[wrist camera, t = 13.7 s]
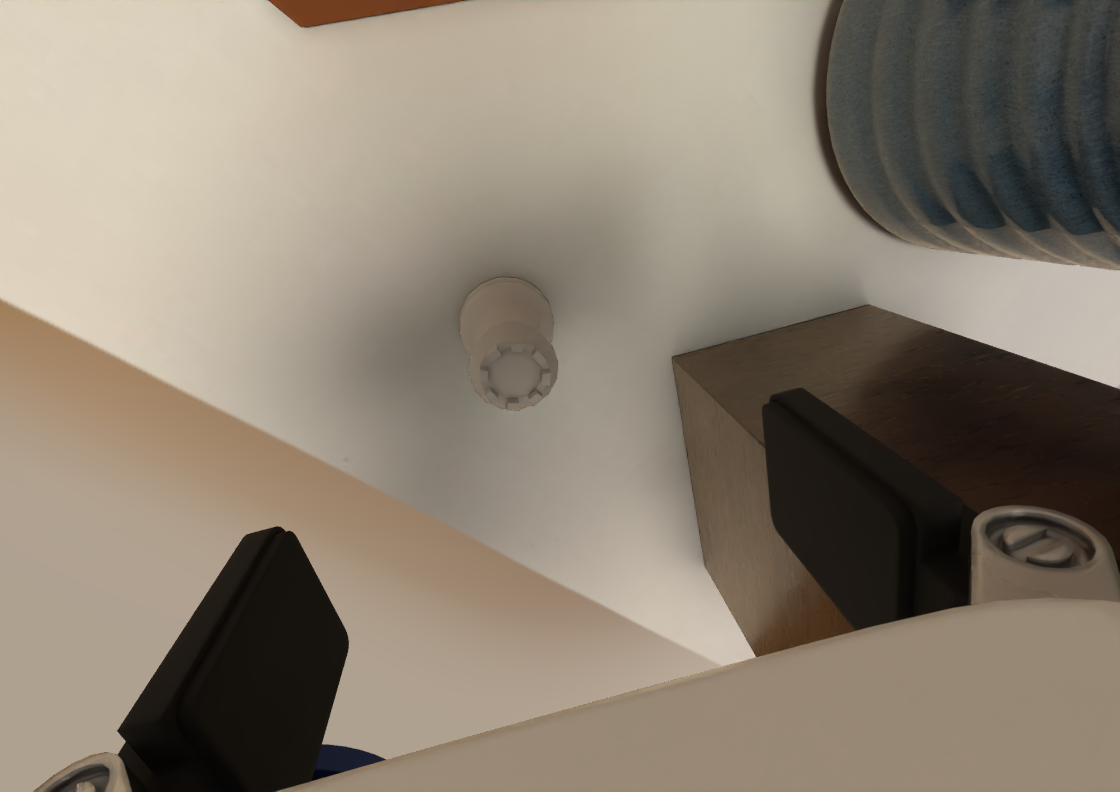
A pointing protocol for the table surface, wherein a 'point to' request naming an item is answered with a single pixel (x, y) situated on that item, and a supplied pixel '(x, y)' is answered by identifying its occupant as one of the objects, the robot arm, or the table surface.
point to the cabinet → (899, 423)
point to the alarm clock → (344, 9)
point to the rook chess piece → (509, 343)
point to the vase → (983, 124)
